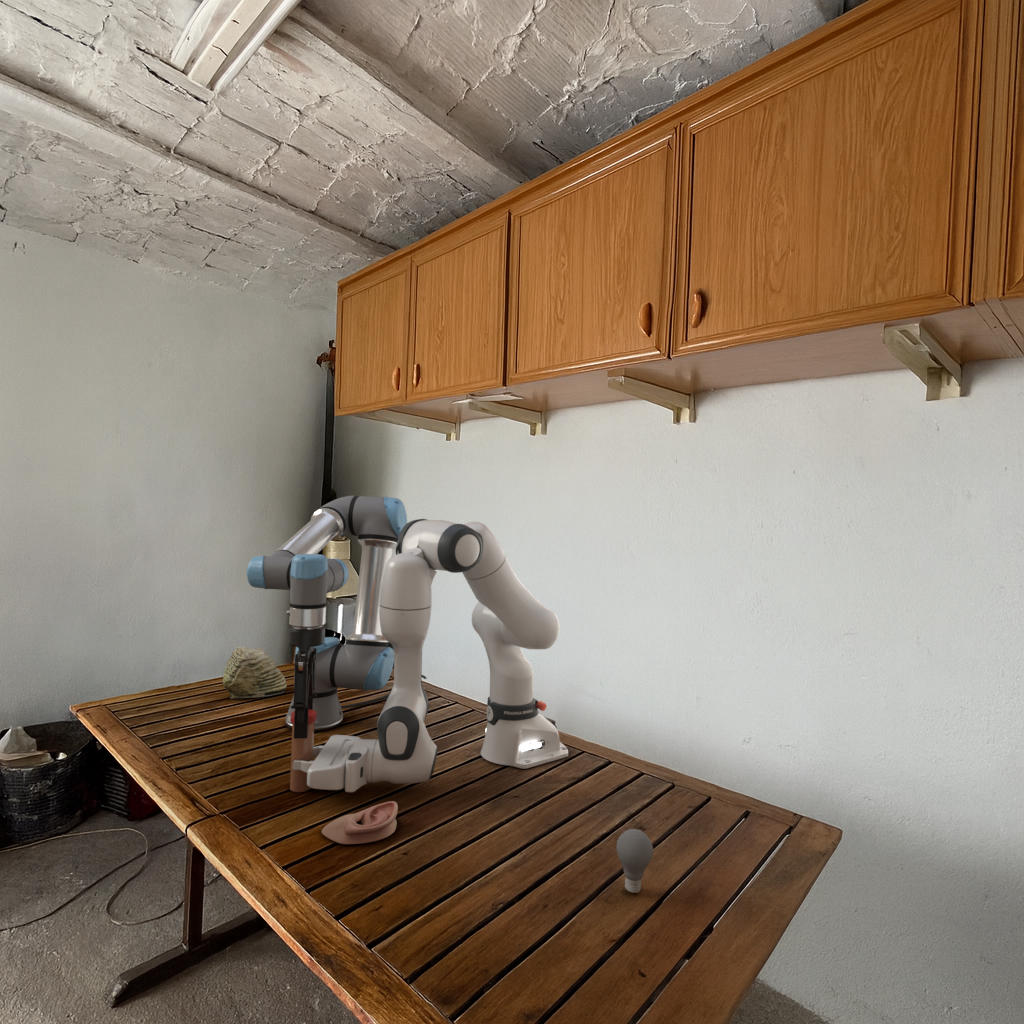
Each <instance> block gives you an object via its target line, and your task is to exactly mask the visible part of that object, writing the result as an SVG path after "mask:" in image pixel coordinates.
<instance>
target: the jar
mask: <svg viewBox="0 0 1024 1024" xmlns="http://www.w3.org/2000/svg"><path fill="white" fill-rule="evenodd" d="M314 723H315V722H313V723H310V724H308V737H307V738H295V739H294V724H293V723H292V729H291V745H290V769H289V770H290V771H289V772H290V773H289V774H290V775H289V790H290V791H291V792H293V793H304V792H308V791H310V790H312V788H311V787H309V786H307V773H306V772H304V771H301V770H294V769H293V762H294V761H295V760H296V759H303V761H307V762H309V761H314V757H313V749H314V747H315V745H314V744H315V732H314Z"/></svg>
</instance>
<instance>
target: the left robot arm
mask: <svg viewBox="0 0 1024 1024" xmlns="http://www.w3.org/2000/svg"><path fill="white" fill-rule="evenodd" d="M407 523H408V515H407V510H406V507H405V504H404V501H402V500H401V499H400V498H397V497H390V496H367V495H346V496H342V497H339V498H336V499H334V500H331V501H329V502H327V503H326V504H324V505H321V507H319V508H318V509H316V511H314V512H313V513H312V515H311V516H310V521H308V522H307V523H306V524H305V525H304V526H303V527H301V528H300V529H299V530H298V531H297V532H296V533H294V535H292V536H291V537H290V538H289V539H288V540H287V541H285V542H284V543H283V544H282V545H281V546H279V547H278V548H277V549H276V550H275V551H274V552H273V553H271V554H270V555H269V556H268V555H256V556H253V557H252V558H251V559H250V560H249V562H248V563H247V568H246V578H247V582H248V584H249V585H250V586H251V587H252V588H255V589H256V588H257V589H264V590H282V591H289V609H288V610H286V615H288V616H289V619H288V620H289V621H288V625H289V626H290V627H289V628H288V635H287V636H288V637H287V643H288V645H289V646H291V647H295V652H294V653H295V654H294V659H293V661H294V663H293V667H294V670H293V671H294V672H293V695H292V696H293V697H292V699H291V702H290V704H289V708H288V711H287V713H286V715H285V726H286V728H287V729H289V730H292V723H291V713H292V712H293V711H295V718H294V739H295V738H307V737H308V712H309V709H311V710H315V711H316V712H317V716H316V721H315V723H314V733H316V732H325V731H329V730H332V729H335V728H337V727H339V726H340V725H342V723H343V722H344V714H343V709H349V708H353V707H358V706H363V705H367V704H371V703H375V702H379V701H381V700H382V701H383V700H384V699H387V697H388V695H389V693H388V694H385V695H383V696H380V697H376V698H372V699H369V700H365V701H364V700H363V701H361V702H360V701H359V702H356V703H351V704H344V705H341V702H340V699H339V695H338V689H350V690H360V691H361V690H362V691H380V690H382V689H383V688H384V687H385V686H386V685H387V684H388V682H389V680H390V677H391V675H392V671H393V669H394V649H393V647H390V646H389V642H388V641H387V640H386V639H385V638H384V637H383V635H382V632H381V626H380V618H379V605H380V592H381V585H382V579H383V574H384V570H385V566H386V563H387V561H388V560H389V559H390V558H391V557H393V551H395V550H396V547H397V541H398V537H399V534H400V532H401V530H402V528H403V527H404V526H405V525H406V524H407ZM341 536H343V537H344V536H354V537H357V543H358V544H359V545H360V546H361V556H360V565H359V575H358V582H357V592H356V600H355V609H354V618H353V625H352V632H351V634H350V635H348V636H347V637H346V638H345V644H341V641H340V639H339V638H338V637H334V636H326V627H325V626H324V625H325V624H326V623H327V594H329V593H331V592H333V593H334V592H335V591H339V590H340V589H341V588H343V587H345V586H346V584H347V583H348V581H349V578H350V572H349V571H350V570H349V568H348V566H347V564H346V563H345V562H344V561H343V560H341V559H339V558H330V557H329V558H328V557H327V556H326V555H324V554H319V553H320V552H321V551H322V550H323V549H324V548H325V547H326V546H327V545H328V544H329V542H331V541H335V540H337V539H338V538H340V537H341ZM421 678H423V679H425V680H427V679H428V678H427V677H426V675H423V674H422V677H421Z"/></svg>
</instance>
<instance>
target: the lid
mask: <svg viewBox="0 0 1024 1024" xmlns="http://www.w3.org/2000/svg"><path fill="white" fill-rule="evenodd" d="M316 716H317V712H316V711H315V710H311V709H309V712H308V724H310V723H313V722H315V721H316ZM294 718H295V711H293V712H292V713H291V723H293V724H294Z"/></svg>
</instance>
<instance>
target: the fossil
mask: <svg viewBox="0 0 1024 1024" xmlns="http://www.w3.org/2000/svg"><path fill="white" fill-rule="evenodd" d="M222 676H223V677H222V685H223V687H224V688H225V690H226V691H228V693H229V698H230V699H250V698H264V697H271V696H275V695H281V694H284V693H285V691H286V689H287V687H288V686H287V680H286V678H285V676H284V674H283V673H282V672H281V669H279V668H278V667H277V665H276V663H275V662H274V660H273V659H272V658H271V657H270V656H269V655H268V654H267V653H266V652H265V650H264V649H263V648H260V647H258V648H251V647H247V646H246V647H245V646H238V647H237V648H236V649H235V650H233V651H232V653H231V656H230V657H229V659H228V660H227V663H226V666H225V668H224V671H223V675H222Z"/></svg>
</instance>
